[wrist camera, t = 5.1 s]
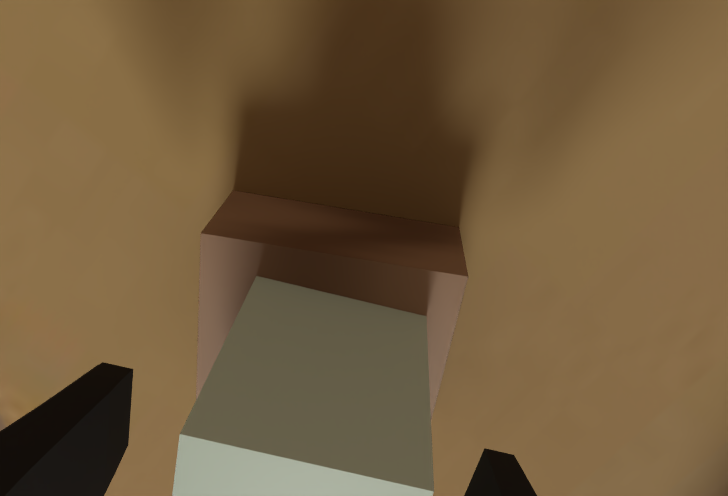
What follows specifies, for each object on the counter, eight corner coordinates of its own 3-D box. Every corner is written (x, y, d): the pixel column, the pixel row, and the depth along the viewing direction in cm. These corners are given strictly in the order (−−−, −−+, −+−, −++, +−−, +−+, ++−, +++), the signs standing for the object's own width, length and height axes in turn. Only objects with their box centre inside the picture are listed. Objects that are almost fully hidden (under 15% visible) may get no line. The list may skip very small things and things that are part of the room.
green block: (426, 316, 14) (433, 491, 9) (384, 441, 15) (373, 639, 11) (256, 275, 14) (180, 433, 9) (233, 407, 15) (160, 594, 11)
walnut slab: (457, 222, 16) (468, 276, 13) (416, 396, 19) (418, 471, 16) (236, 186, 16) (200, 233, 13) (226, 366, 18) (195, 435, 16)
